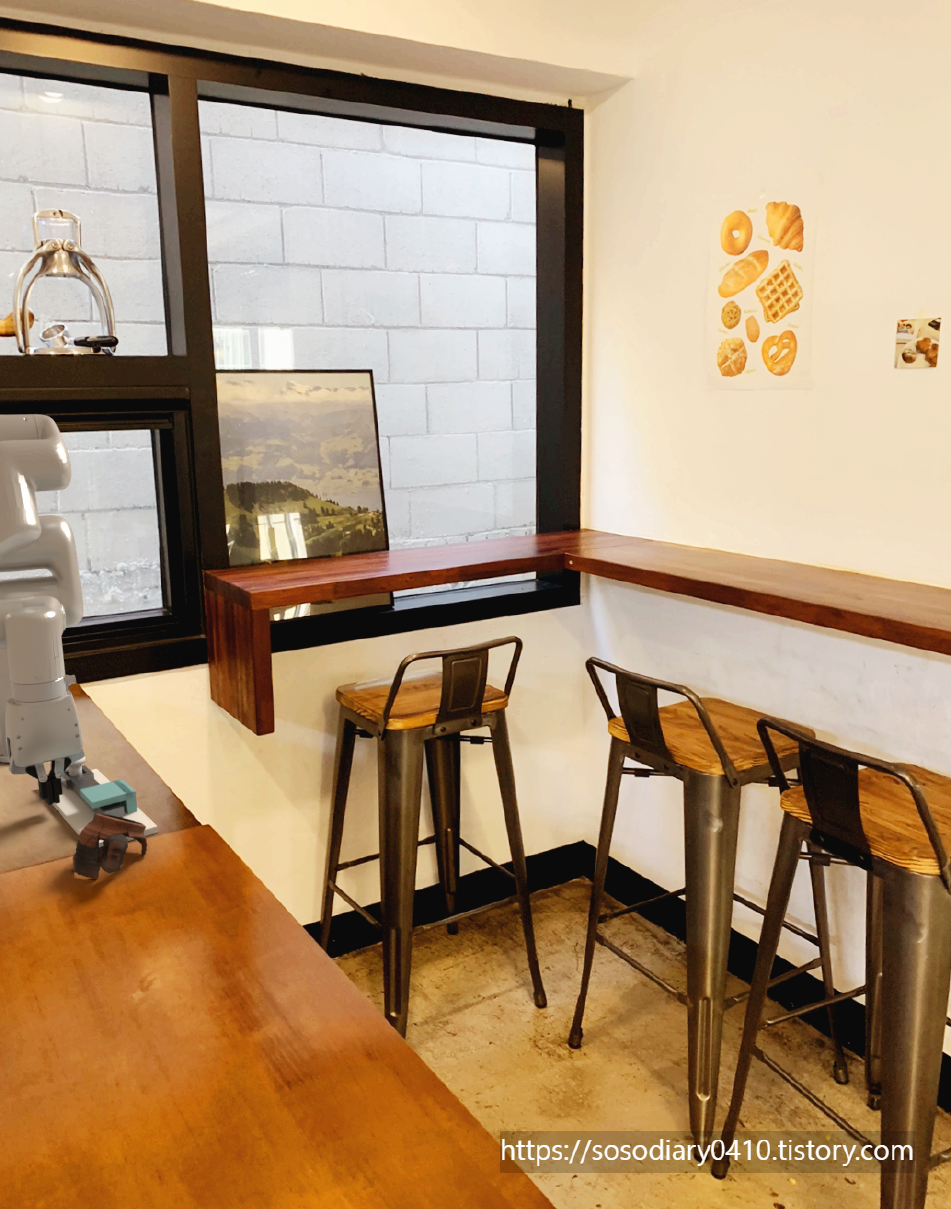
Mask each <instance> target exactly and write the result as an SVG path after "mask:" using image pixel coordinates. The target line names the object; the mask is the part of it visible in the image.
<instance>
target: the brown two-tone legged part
mask: <svg viewBox="0 0 951 1209" xmlns="http://www.w3.org/2000/svg"><path fill="white" fill-rule="evenodd" d="M145 829H146V826H145V825H143V824H142V823H140V822H136V821H133V820H129V819H125V818H122V817H117V816H113V815H109V814H103V813H95V814H94V818H93V821H91V822H89V823H88V825H87V826H85V827H84V829H83V830H81V833H80V835H78V838H79V839H78V840H77V843H76V848H75V853H74V854H73V856H72V867H71V868H72V869H71V871H73V872H74V873H76V874H78V876H82V877H86V878H89V879H93V880H98V879H99V876H100V875H99V874H100V871H101V869H102V870H103V871H104V872H105V873H107V874H113V873H116V872H118V871H120V870H121V868H122V866H123V862H124V861H123V860H124V857H125V855H126V853H127V850H128V848H129V843H128V842H129V841H127V837H131V838H134V840H135V841H137V842H138V843H139V844H140V845H141V852H140V854H141V855H142V856H146V854H147V851H148V842H147V836H145V835H144V831H145ZM99 840H104V841H103V845H104V846H102V847H99Z"/></svg>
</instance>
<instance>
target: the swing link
mask: <svg viewBox="0 0 951 1209" xmlns="http://www.w3.org/2000/svg"><path fill="white" fill-rule="evenodd" d="M81 766H82V774H81V775H77V776H73V777H69V769H68V768H67V769H66V770H65V772H64V774H63V776H62V777H61V783H62V784H63V786H64V787H65V788H66V789H68V788H72V789H73V790H74V791H75V792H76V793H77V794H78V795H79V796H80V789H84V788H88V787H92V786H96V785H100V784H99V783H98V782H97V781H96V780H95V779H94V773H93V772H92V771H91V770H92V769H90V768H88V767H87V765H81ZM80 797H81V796H80ZM81 798H82V797H81ZM82 799H83V798H82ZM83 800H84V799H83ZM84 801H85V800H84ZM85 802H86V801H85ZM86 803H87V802H86ZM87 804H88V803H87ZM88 805H89V804H88ZM89 806H90V805H89ZM90 807H91V806H90ZM91 808H92V807H91ZM93 810H94V811H95V812H96V813H103V814H109V815H113V816H117V817H121V816H125V812H124V806H123V805H122V804H121V803H120V802H117V803H113V804H109V805H105V806H102V807H98V808H94V809H93Z"/></svg>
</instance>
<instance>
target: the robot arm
mask: <svg viewBox="0 0 951 1209" xmlns="http://www.w3.org/2000/svg"><path fill="white" fill-rule="evenodd" d="M69 454H70V453H69V452H68V448H67V446H66V443H65V441H64V438H63V436H62V434H61V431H60V429H59V427H58V425H57V423H56V422H55V421H54V419H53V418H51V417H50V416H49V415H46V414H45V415H44V414H37V413H35V414H32V413H31V414H0V573H12V572H13V573H14V572H22V571H23V572H24V571H34V570H35V571H36V570H48V571H49V572H50V573H51V574H52V575H49V576H47V575H46V576H39V577H37V576H35V577H25V578H24V577H23V578H15V579H5V580H0V763H7V764H9V766H8V767H9V768H8V771H9V772H10V773H11V775H29V776H31V777H32V778H34V779H36V780H37V786H38V787H39V789H38V794H39V798H40V800H43V801H45V803H46V804H47V805H48V806H53V803H56V804H57V803H60V797H59V795H62V783H61V777H62V776H63V774H64V772H65V770H67V769H68V767H69V765H70V764H71V763H72V762H75V761H78V760H80V759H82V758H83V757H84V756H85V751H84V749H83V748H84V747H83V745H84V741H83V735H82V727H81V723H80V722H81V721H80V719H79V713H78V709H77V706H76V703H75V699H74V696H73V694H72V691H71V690H70V689H69V687H70V686H72V685H73V684H76V683H77V679H76V675H75V674H71V675H70V674H66V669H65V668H66V667H65V661H64V650H63V641H62V635H63V633H64V631H65V630H66V628H70V627H73V626H76V625H78V624H79V623H81V621H82V619H83V616H84V600H83V591H82V590H83V589H82V584H81V575H80V569H79V561H78V559H79V558H78V553H77V552H78V551H77V546H76V541H75V535H74V532H73V529H72V527H71V525H70V523H69V522H68V521H67V519H66V518H64V517H62V516H60V515H55V514H45V515H44V514H43V515H42V514H41V515H39V512H38V510H39V509H38V505H37V499H36V493H37V492H38V493H39V492H54V491H55V492H56V491H62V490H65V489H67V488H68V486H69V485H70V483H71V478H72V464H71V460H70V456H69ZM35 492H36V493H35ZM48 762H50V765H49V772H48V774H47V770H46V768H45V766H44V763H48Z"/></svg>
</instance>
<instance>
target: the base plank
mask: <svg viewBox="0 0 951 1209" xmlns="http://www.w3.org/2000/svg"><path fill="white" fill-rule="evenodd" d="M86 759H87V758H86V755H84V757H83V758H82V759H80V760H78V761H75V762H72V763H71V764H70V765H69V767H68V768H67V769H69V777H73V776H77V775H81V774H82V766H83V764H85V763H86ZM90 770H91V771H92V772H93V773H94V779H95V780H96V781H97V782H98V783H99V784H104V783H108V782H111V781H110V779H108V778H107V777H106V776H105V775H104V774H103V773H102V772H101V771H100V770H99V769H98V768H93V769H90ZM59 797H60V803H57V804H56V803H53V805H52V806H53V807H54V809H56V811H57V810H58V811H59V812H58V811H57V812H58V813H59V814H60V815H61V817H62V818H63V819H64V820H65V821H66V823H67V824H68V825H69V826H70V827H71V829H73V831H74V832H75V833H76V834H77V835H78V836H79V835H80V833H81V830H83V829H84V827H85V826H87V825H88V823H89V822H91V821H93V818H94V814H95V813H96V812H95V811H94V810H93V809H92V808H91V807H90V806H89V805H88V804H87V803H86V802H85V801H84V800H83V799H82V798H81V797H80V796H79V795H78V794H77V793H76V792H75V791H74V790H73V789H72V788H68V789H66V788H65V787H64V786H63V784H62V795H59ZM124 812H125V811H124ZM121 817H122V818H125V819H129V820H133V821H136V822H140V823H142V824H143V825H145V826H146V829H145V831H144V835H145V837H148V836H151V835H154V834H157V833H159V828H158V825H157V824H156V823H155V822H154V821H153V820H152V819H151V818H149V816H148V815H146V814H145V813H144V812H143V810H141V809H140V808H139V807H138V806H137V811H136V812H132V813H129V814H127V813H126V812H125V816H121ZM133 840H135V839H134V838H131V837H127V841H128V842H130V841H133ZM103 841H104V840H99V847H102V846H104V845H103Z"/></svg>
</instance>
